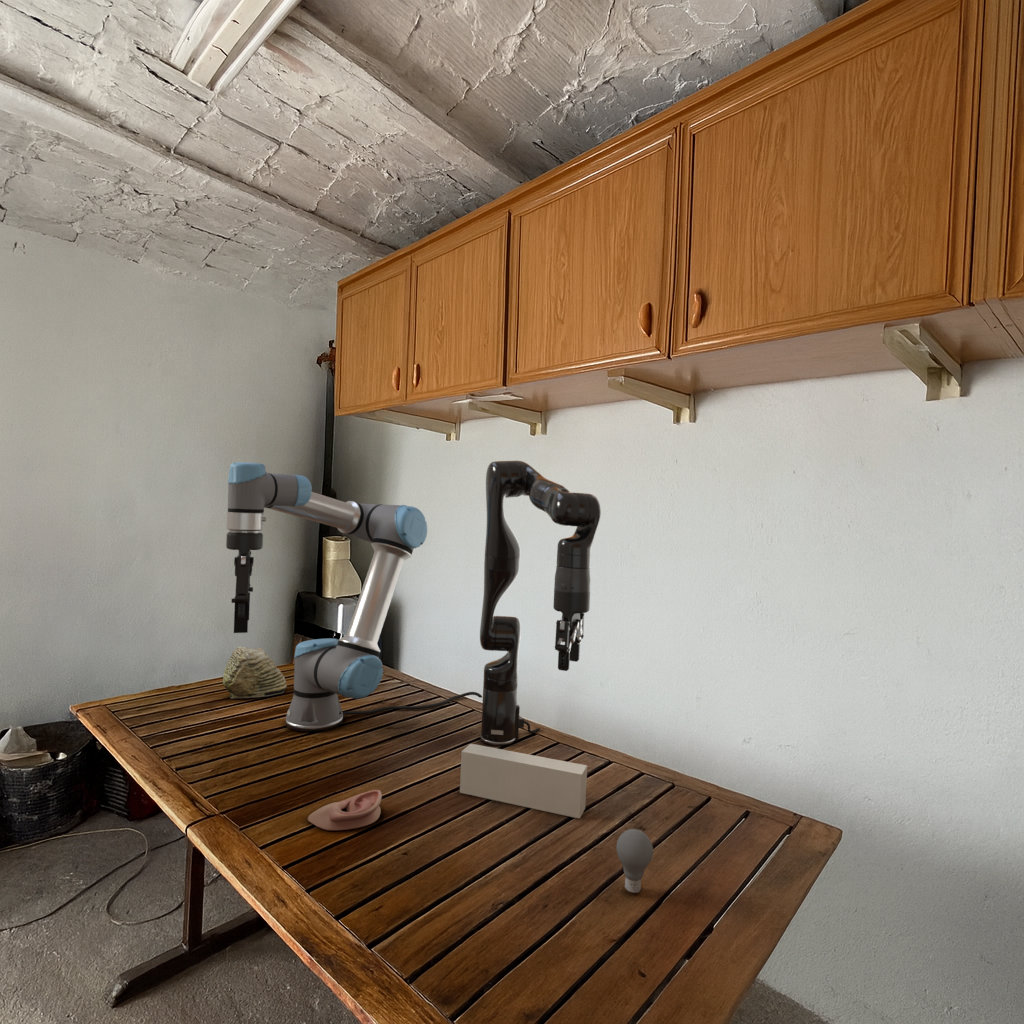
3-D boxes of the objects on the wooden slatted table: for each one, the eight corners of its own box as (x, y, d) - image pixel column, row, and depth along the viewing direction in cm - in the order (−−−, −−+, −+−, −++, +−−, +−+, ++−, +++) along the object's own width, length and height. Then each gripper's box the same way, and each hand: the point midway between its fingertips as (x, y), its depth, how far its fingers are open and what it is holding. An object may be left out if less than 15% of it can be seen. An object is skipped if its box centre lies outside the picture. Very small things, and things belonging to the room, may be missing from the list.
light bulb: (610, 879, 108) (613, 822, 108) (644, 879, 109) (647, 822, 109) (619, 902, 102) (622, 840, 102) (655, 901, 103) (658, 840, 103)
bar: (459, 792, 138) (461, 751, 138) (468, 783, 143) (470, 743, 143) (579, 819, 129) (581, 774, 129) (585, 808, 134) (587, 765, 134)
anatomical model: (300, 805, 121) (329, 780, 132) (299, 826, 121) (328, 798, 133) (364, 815, 119) (388, 788, 130) (363, 836, 119) (387, 807, 130)
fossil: (218, 695, 195) (220, 647, 195) (278, 685, 208) (279, 640, 207) (228, 703, 189) (230, 653, 188) (289, 692, 201) (290, 645, 201)
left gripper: (263, 535, 131) (259, 637, 132) (263, 528, 154) (260, 615, 155) (223, 535, 129) (219, 639, 129) (229, 528, 152) (226, 616, 152)
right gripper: (581, 594, 124) (578, 676, 124) (597, 585, 138) (593, 660, 138) (545, 590, 127) (541, 671, 127) (563, 582, 140) (560, 655, 140)
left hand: (241, 626), depth 142 cm, fingers open, 13 cm apart
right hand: (568, 665), depth 132 cm, fingers open, 8 cm apart
